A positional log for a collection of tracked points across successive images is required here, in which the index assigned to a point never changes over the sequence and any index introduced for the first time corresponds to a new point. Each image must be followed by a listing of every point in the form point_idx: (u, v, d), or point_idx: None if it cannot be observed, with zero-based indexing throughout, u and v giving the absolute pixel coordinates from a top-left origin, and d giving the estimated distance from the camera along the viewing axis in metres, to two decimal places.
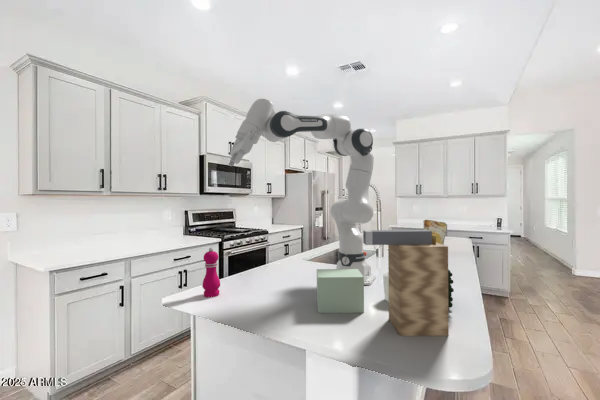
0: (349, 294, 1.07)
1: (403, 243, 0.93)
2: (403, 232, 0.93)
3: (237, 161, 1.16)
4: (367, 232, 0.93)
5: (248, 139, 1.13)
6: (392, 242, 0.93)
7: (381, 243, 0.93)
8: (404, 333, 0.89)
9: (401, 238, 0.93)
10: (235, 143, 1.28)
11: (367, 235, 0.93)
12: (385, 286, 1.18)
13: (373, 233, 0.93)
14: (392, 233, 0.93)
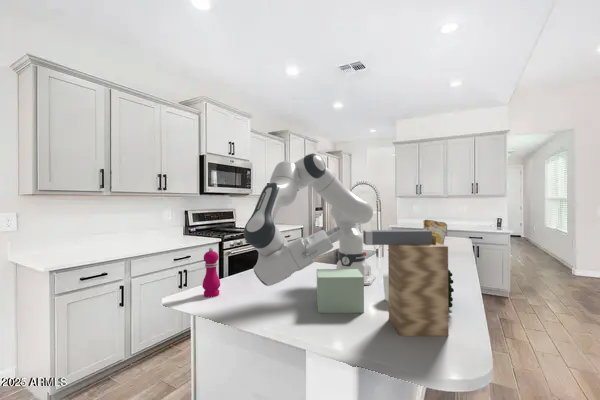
0: (349, 294, 1.07)
1: (403, 243, 0.93)
2: (403, 232, 0.93)
3: (341, 232, 0.90)
4: (367, 232, 0.93)
5: (319, 252, 0.85)
6: (392, 242, 0.93)
7: (381, 243, 0.93)
8: (404, 333, 0.89)
9: (401, 238, 0.93)
10: None
11: (367, 235, 0.93)
12: (385, 286, 1.18)
13: (373, 233, 0.93)
14: (392, 233, 0.93)
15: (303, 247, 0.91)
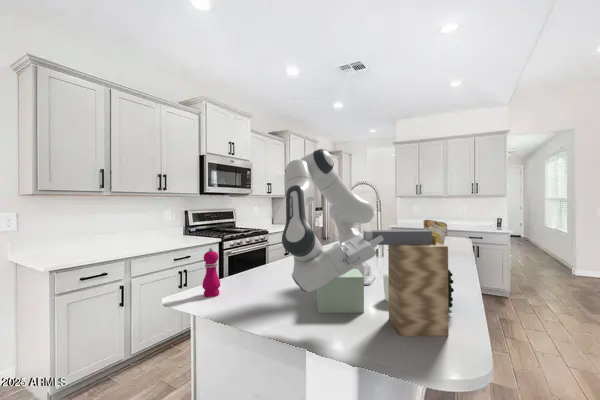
0: (349, 294, 1.07)
1: (403, 243, 0.93)
2: (403, 232, 0.93)
3: (380, 238, 0.91)
4: (367, 232, 0.93)
5: (362, 259, 0.85)
6: (392, 242, 0.93)
7: (381, 243, 0.93)
8: (404, 333, 0.89)
9: (401, 238, 0.93)
10: None
11: (367, 235, 0.93)
12: (385, 286, 1.18)
13: (373, 233, 0.93)
14: (392, 233, 0.93)
15: (343, 254, 0.91)
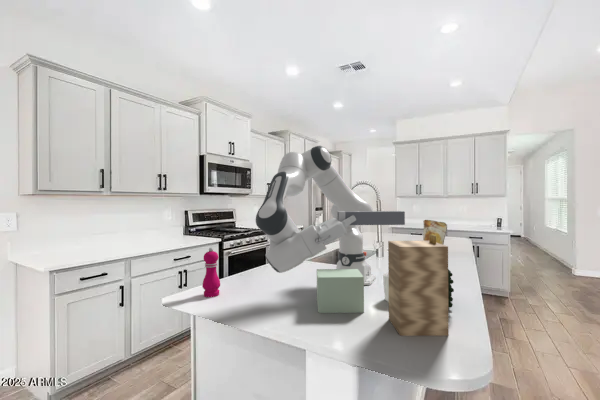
0: (349, 294, 1.07)
1: (376, 223, 0.93)
2: (376, 212, 0.93)
3: (353, 218, 0.91)
4: (340, 212, 0.93)
5: (332, 237, 0.85)
6: (365, 223, 0.93)
7: (354, 223, 0.93)
8: (404, 333, 0.89)
9: (374, 218, 0.93)
10: None
11: (340, 215, 0.93)
12: (385, 286, 1.18)
13: (346, 213, 0.93)
14: (365, 213, 0.93)
15: (316, 233, 0.91)
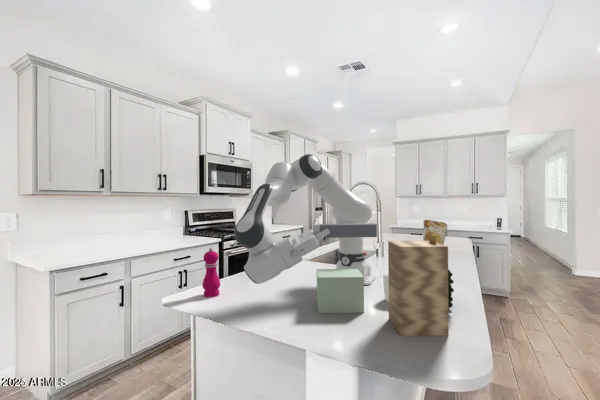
0: (349, 294, 1.07)
1: (349, 236, 0.97)
2: (349, 225, 0.97)
3: (327, 231, 0.95)
4: (315, 225, 0.97)
5: (305, 250, 0.89)
6: (339, 235, 0.97)
7: (328, 236, 0.97)
8: (404, 333, 0.89)
9: (347, 231, 0.97)
10: None
11: (315, 228, 0.97)
12: (385, 286, 1.18)
13: (320, 226, 0.97)
14: (339, 226, 0.97)
15: (291, 246, 0.95)
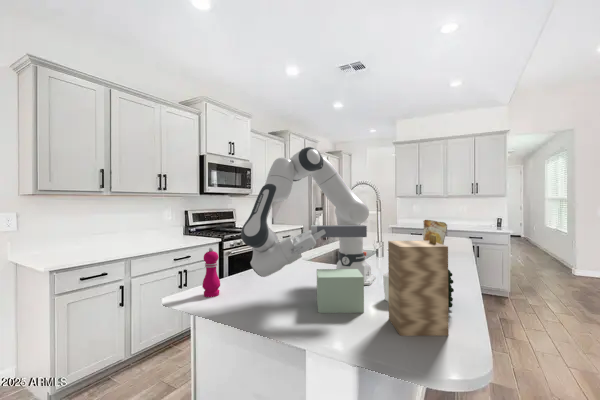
0: (349, 294, 1.07)
1: (342, 236, 1.11)
2: (343, 227, 1.11)
3: (323, 231, 1.10)
4: (312, 227, 1.11)
5: (304, 248, 1.03)
6: (333, 235, 1.11)
7: (324, 236, 1.11)
8: (404, 333, 0.89)
9: (341, 232, 1.11)
10: None
11: (312, 229, 1.11)
12: (385, 286, 1.18)
13: (317, 227, 1.11)
14: (333, 227, 1.11)
15: (292, 244, 1.09)
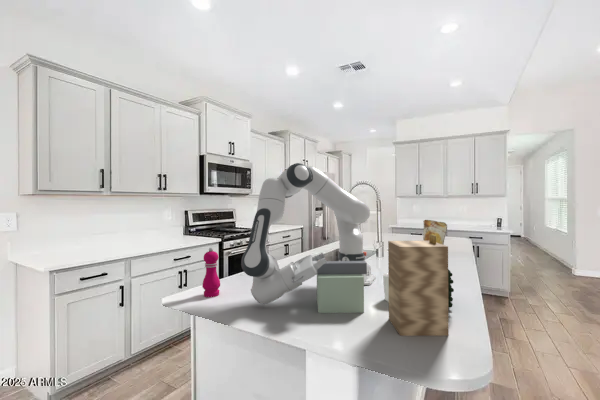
0: (349, 294, 1.07)
1: (343, 273, 1.11)
2: (343, 264, 1.11)
3: (324, 260, 1.08)
4: None
5: (305, 278, 1.03)
6: (333, 272, 1.11)
7: (324, 273, 1.11)
8: (404, 333, 0.89)
9: (341, 269, 1.11)
10: None
11: None
12: (385, 286, 1.18)
13: None
14: (334, 264, 1.11)
15: (292, 272, 1.09)
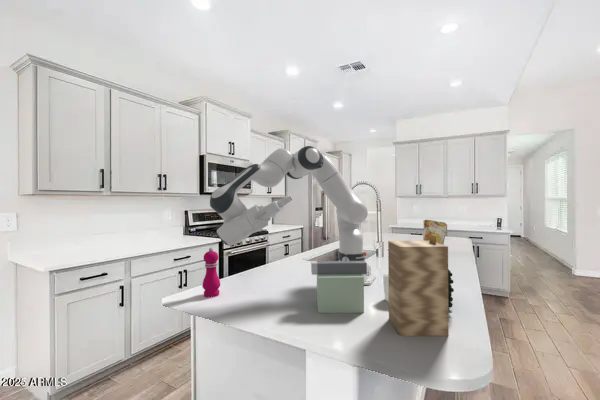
0: (349, 294, 1.07)
1: (343, 273, 1.11)
2: (343, 264, 1.11)
3: (288, 198, 1.07)
4: (313, 264, 1.11)
5: (267, 213, 1.03)
6: (333, 272, 1.11)
7: (324, 273, 1.11)
8: (404, 333, 0.89)
9: (341, 269, 1.11)
10: (272, 215, 1.20)
11: (313, 266, 1.11)
12: (385, 286, 1.18)
13: (318, 265, 1.11)
14: (334, 264, 1.11)
15: (257, 211, 1.09)
